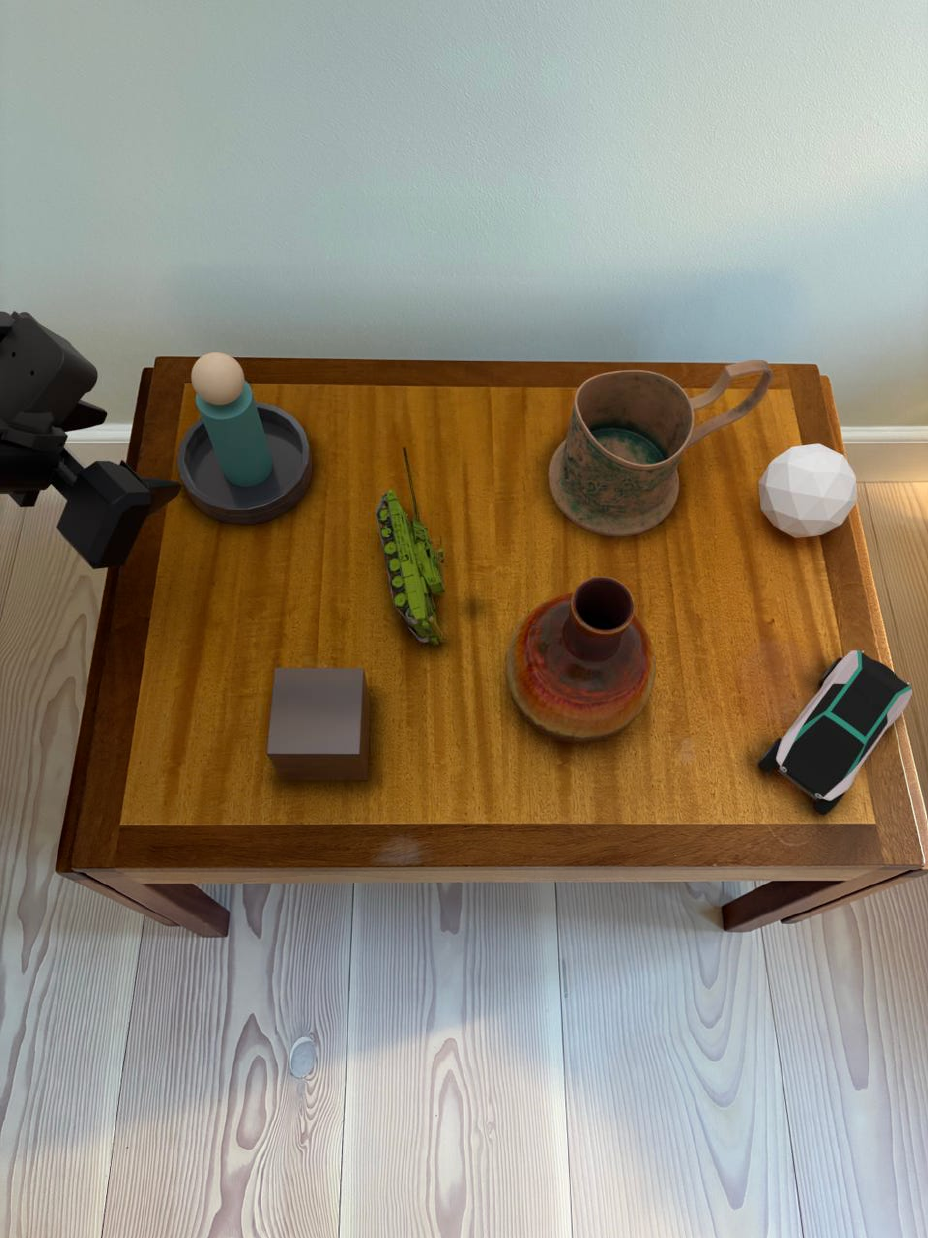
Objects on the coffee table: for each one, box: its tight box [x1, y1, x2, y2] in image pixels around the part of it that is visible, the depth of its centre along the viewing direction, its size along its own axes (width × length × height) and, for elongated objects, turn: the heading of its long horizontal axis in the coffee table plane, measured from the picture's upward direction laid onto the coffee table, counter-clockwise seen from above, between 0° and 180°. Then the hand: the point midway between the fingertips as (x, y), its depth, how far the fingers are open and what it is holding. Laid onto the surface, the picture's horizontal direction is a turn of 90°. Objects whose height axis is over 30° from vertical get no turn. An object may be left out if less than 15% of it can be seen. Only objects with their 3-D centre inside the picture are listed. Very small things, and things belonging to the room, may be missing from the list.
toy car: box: [757, 649, 913, 816], centre depth 67 cm, size 6×12×5 cm, turn 139°
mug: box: [547, 359, 774, 537], centre depth 75 cm, size 12×18×12 cm, turn 108°
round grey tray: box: [176, 401, 314, 526], centre depth 78 cm, size 11×11×2 cm
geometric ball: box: [757, 443, 858, 539], centre depth 75 cm, size 8×8×8 cm
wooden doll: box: [190, 351, 273, 487], centre depth 72 cm, size 4×4×14 cm
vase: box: [505, 575, 657, 744], centre depth 64 cm, size 11×11×15 cm
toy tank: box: [375, 445, 486, 646], centre depth 73 cm, size 7×19×10 cm
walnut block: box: [266, 667, 372, 782], centre depth 66 cm, size 6×6×7 cm
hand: (140, 452), depth 67 cm, fingers open, 9 cm apart
